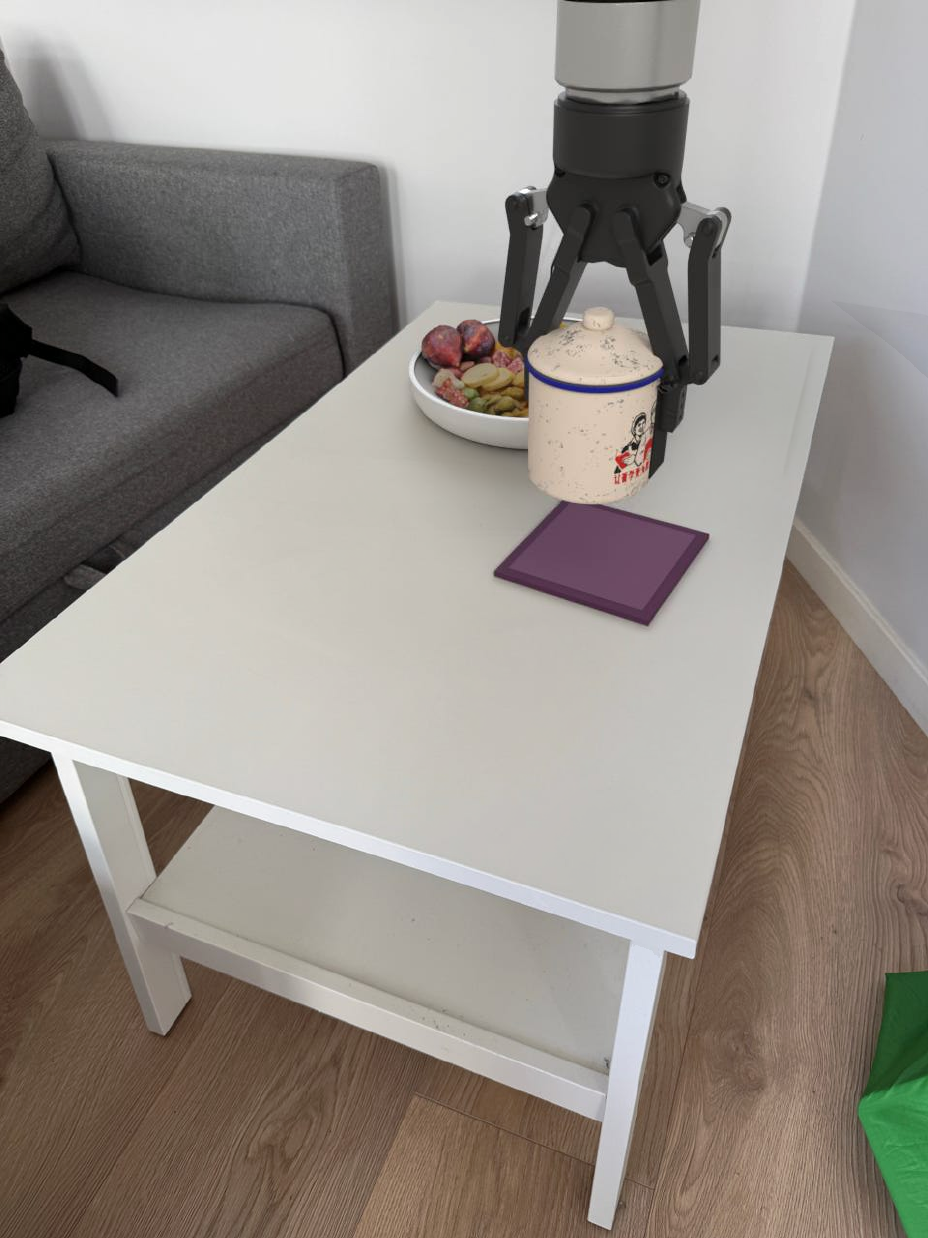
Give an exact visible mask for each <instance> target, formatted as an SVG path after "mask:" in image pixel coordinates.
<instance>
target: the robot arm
mask: <svg viewBox="0 0 928 1238" xmlns="http://www.w3.org/2000/svg"><path fill="white" fill-rule="evenodd" d="M556 2H557V3H556V19H555V21H556V22H555V23H556V24H555V45H554V68H553V79H554V80H555V82H556V83H557V84H558V86H561V87H562V88H564V91H562V92H560V93H559V94H558V95H557V98H556V99H554V101H553V119H552V121H553V122H552V123H553V124H552V161H553V175H552V177H551V180H550V182H549V184H548V186H547V187H545V188H544V187H543V188H536V186H533V185H528V186H525V187H523V188H522V189H519V190H517V191H516V192H514V193H511V194H510V195H508V196H507V197H506V198H505V201H504V209H505V215H506V220H507V226H508V232H509V237H508V238H509V239H508V247H507V248H508V249H507V256H506V265H505V272H504V281H503V289H502V298H501V305H500V313H499V319H500V322H499V330H498V341H499V344H500V345H501V346H503V347H504V348H509V347H512V348H513V349H515V350H517V351H518V352H520V353H521V355H522V357H523V359H524V396H525V399H526V401H528V402H529V371H528V369H527V367H526V356H527V354H528V351H529V348H530V347H531V345H532V344H533V342H534V341H535V340H536V339H538V338H539V337H540V336H544V335H547V334H548V333H550V332H551V331H553V330H555V329H559V327H560V325H561V323H562V321H563V318H564V317H566V313H567V312H568V309H569V307H570V304H571V302H572V300H573V297H574V295H575V292H576V290H577V288H578V286H579V284H580V281H581V280H582V277H583V274H584V272H585V270H586V267H587V265H588V264H598V263H604V262H605V263H607V264H609V265H611V266H613V267H616V268H622V269H625V270H626V274H627V277H628V281H629V283H630V285H631V286H633V287H634V289H635V292H636V293H635V294H636V296H637V297H636V298H637V300H638V304H639V307H640V312H641V315H642V318H643V323H644V325H645V330H646V332H647V333H646V334H648V337H649V340H650V344H651V348H652V351H653V355H654V356H656V357H658V358H659V359H660V360H661V362H662V364H663V366H662V367H661V368H662V369H663V370H664V374H663V375H662V376H661V377H660V380H661V383H660V384H659V385H658V386H657V389H658V392H657V401H656V410H655V420H654V429H653V438H652V448H651V457H650V467H649V476H648V479H650V480H651V478H653V476H654V475H655V473H657V471H658V470H659V469H660V467H661V466H662V465H663V464H664V463H665V457H666V455H665V454H666V448H667V441H668V440H667V439H668V433H670V434H673V433H674V432H675V431H676V430H677V429H678V427H679V426H680V424H681V423H682V421H683V419H684V416H685V415H684V414H685V408H686V399H687V391H688V385H693V384H694V385H696V386H702V385H705V384H706V383H707V382H708V381H709V379H710V378H711V377H712V376H713V375H714V374H715V373H716V372H717V370H718V369H719V368H720V366H721V361H722V358H721V355H722V354H721V350H722V349H721V348H722V347H721V346H722V344H721V341H722V339H721V337H722V249H723V245H724V242H725V239H726V237H727V234H728V231H729V228H730V225H731V223H732V217H733V216H732V212H731V211H730V210H729V209H728V208H727V207H725V206H719V207H716V208H715V209H713V210H712V209H709V208H706V207H704V206H701V205H698V204H696V203H692V202H689V201H688V198H687V194H686V192H685V189H684V184H683V180H682V176H683V175H682V174H683V169H684V168H683V167H684V160H685V151H686V142H687V132H688V124H689V123H688V122H689V113H690V103H691V100H690V98H689V97H688V95H687V94H688V93H686V91H685V90H683V89H680V86H683V85H685V84H687V82H689V81H690V80H691V79H692V77H693V71H694V62H695V55H696V54H695V52H696V45H697V36H698V28H699V27H698V25H699V18H700V9H701V0H557V1H556ZM549 212H550V213H551V215H552V216H553V219H554V220H555V222H556V223H557V225H558V227H559V229H560V231H561V233H562V234H563V238H562V241H561V243H560V246H559V249H558V251H557V253H556V256H555V258H554V261H553V263H552V264H553V270H552V272H551V275H550V277H549V279H548V282H547V284H546V287H545V288H544V292H543V295H542V298H541V299H540V302H539V304H538V306H537V310H536V311H535V315H534V316H535V317H534V319H533V321H532V324H531V326H530V322H531V316H533V315H532V314H533V307H534V300H535V292H536V286H537V279H538V271H539V267H540V266H539V265H540V259H541V252H542V244H543V239H544V238H543V237H544V224H545V223H546V222H547V221H548V218H549ZM677 224H678V225H679V226H680V227H681V228H682V230H683V231H682V232H683V242H684V245H685V246H686V248H688V249H690V250H689V253H688V259H687V321H688V322H687V324H688V325H687V326H688V328H687V329H688V330H687V331H688V344H687V341H686V337H685V333H684V329H683V325H682V321H681V318H680V313H679V310H678V306H677V303H676V299H675V294H674V289H673V287H672V283H671V279H670V278H671V277H670V275H669V270H668V269H669V257H668V253H667V249H666V245H665V241H664V239H665V238H667V236H668V235H669V233H671V231H672V230H673V229H674V228H675V226H676V225H677Z"/></svg>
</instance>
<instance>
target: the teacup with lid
mask: <svg viewBox="0 0 928 1238" xmlns="http://www.w3.org/2000/svg"><path fill="white" fill-rule="evenodd" d="M581 316H582V318H581V319H582V321H580V322H577V323H574V324H572V325H570V326H568V327H563V328H559V329H555V330H553V331H551V332H550V333H548V334H547V335H544V336H540V337H539V338H538V339H536V340H535V341H534V342H533V344H532V345H531V347H530V348H529V351H528V354H527V356H526V367H527V369H528V371H529V423H528V449H527V473H528V476H529V479H530V480H531V482H532V484H534V486H535V487H537V488H538V489H539V490H540V491H541V492H542V493H544V494H546V495H548V496H550V497H552V498H555V499H557V500H561V501H562V500H564V501H567V502H572V503H579V504H601V505H605V504H612V503H617V502H620V501H623V500H626V499H628V498H631V497H634V496H635V495H637V494H638V493H639V492H641V491H642V490H643V489H644V488H646V486H647V485H648V483H649V482H650V480H651V478H650V479H648V476H649V467H650V457H651V448H652V438H653V429H654V420H655V410H656V401H657V392H658V389H657V386H658V385H659V384H660V383H661V380H660V377H661V376H662V375H663V374H664V370H663V369H662V368H661V367H662V366H663V364H662V362H661V360H660V359H659V358H658V357H656V356H654V355H653V351H652V348H651V344H650V340H649V337H648V333H646V332H644V331H641V330H638V329H635V328H633V327H632V328H631V327H628V326H626V325H624V324H622V323H620V322H618V321H615V314H614V312H613V310H612V309H610V308H608V307H603V306H594V307H590V308H587V309H586V310H585V311H584V312H583V314H582V315H581Z"/></svg>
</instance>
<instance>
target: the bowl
mask: <svg viewBox="0 0 928 1238" xmlns="http://www.w3.org/2000/svg"><path fill="white" fill-rule="evenodd" d="M534 317H535V315H531V322H530V326H531V324H532V321H533V319H534ZM580 321H582V318H577V317H567V316H564V318H563V321H562V323H561V325H560V327H559V328H563V327H568V326H570V325H572V324H574V323H577V322H580ZM499 322H500V318H495V319H489V320H484V321H480V320H477V319H465V320H462V321H461V322H460V323H459V324H458V325H457V326H456V328H455V327H454V326H451V325H447V324H439V325H437V326H435V327H433V329H431V330H430V331H428V332H427V333H426V334H425V336H424V337H423V338H422V340H421V345H420V346H421V347H419V348H418V350H416V351H415V353H414V354H413V355H412V356H411V358H410V361H409V363H408V366H407V376H408V383H409V389H410V392H411V395H412V397H413V399H414V401H415V402H416V405H417V406H418V407H419V408H420V410H421V411H422V413H423V414H425V416H427V417H428V418H429V420H431V421H432V422H433V423H435V424H436V425H437V426H439V427H440V428H442V429H444V430H445V431H447V432H449V433H451V434H454V435H456V436H458V437H461V438H463V439H465V440H469V441H472V442H476V443H479V444H483V445H488V446H489V445H490V446H493V447H499V448H507V449H518V450H528V423H529V402H528V401H526V399H525V396H524V359H523V357H522V355H521V353H520V352H518V351H517V350H515V349H513V348H512V347H509V348H504V347H503V346H501V345H500V344H499V341H498V330H499Z"/></svg>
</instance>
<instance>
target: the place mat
mask: <svg viewBox="0 0 928 1238" xmlns="http://www.w3.org/2000/svg"><path fill="white" fill-rule="evenodd" d="M709 539H710V533H708V532H704V531H701V530H697V529H693V528H689V527H685V526H682V525H679V524H675V523H671V522H668V521H663V520H660V519H658V518H653V517H648V516H645V515H641V514H638V513H634V512H631V511H628V510H625V509H624V510H623V509H619V508H616V507H612V506H608V505H605V504H579V503H572V502H567V501H564V500H561V501H560V502H559V503H558V504H557V505H556V506H554V508H553V509H552V510H551V511H550V512H549V513H548V514H547V515H546V516H545V517H544V518H543V519H542V520H541V521H540V522H539V524H538V525H536V526H535V528H534V529H533V530H532V531H531V532H530V533H529V534H527V536H526V537H525V538H524V539H523V540H522V541H521V542H520V543H519V544H518V545H517V546H516V547H515V548H514V549H513V551H511V553H510V554H509V555H507V557H505V559H504V560H503V561H502V562H501V563H500V564H499V565H498V566H497V567H496V568H495V569H494V570H493V577H495V578H499V579H502V580H505V581H507V582H511V583H514V584H517V585H520V586H523V587H526V588H530V589H533V590H535V591H539V592H542V593H545V594H547V595H551V596H554V597H557V598H560V599H564V600H566V601H570V602H573V603H575V604H578V605H582V606H585V607H588V608H591V609H594V610H597V611H600V612H603V613H605V614H609V615H613V616H616V617H618V618H620V619H621V618H623V619H625V620H628V621H631V622H634V623H637V624H640V625H644V626H646V627H648V626H649V625H650V624H651V623H652V621H653V620H654V618H655V617H656V616H657V614H658V613H659V611H660V609H661V608H662V607H663V605H664V604H665V603H666V601H667V600H668V598H669V597H670V595H672V592H673V591H674V590H675V588H676V587H677V585H678V584H679V583H680V582H681V580H682V578H683V577H684V575H685V574H686V573H687V571H688V570H689V568H690V567H691V565H692V564H693V563H694V561H695V559H697V557H698V555H699V554H700V552H701V551H702V549H704V547H705V545H706V544H707V542H708V541H709Z"/></svg>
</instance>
